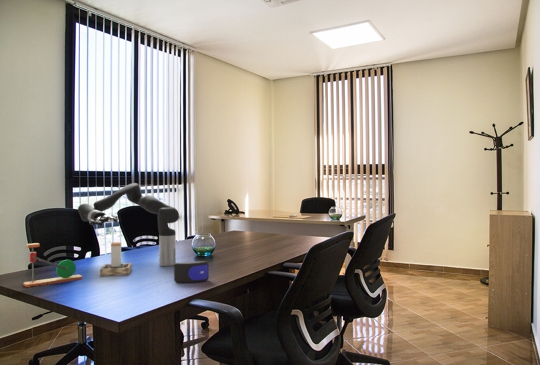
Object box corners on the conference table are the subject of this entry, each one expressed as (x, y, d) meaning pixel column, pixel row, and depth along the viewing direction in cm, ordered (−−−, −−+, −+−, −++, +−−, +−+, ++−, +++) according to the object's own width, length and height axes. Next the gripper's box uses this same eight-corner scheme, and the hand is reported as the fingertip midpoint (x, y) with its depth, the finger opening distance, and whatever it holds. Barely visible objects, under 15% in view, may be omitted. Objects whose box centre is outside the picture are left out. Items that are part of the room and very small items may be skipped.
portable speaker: (174, 284, 189) (174, 264, 189) (174, 282, 194) (174, 262, 194) (209, 282, 193) (209, 262, 193) (208, 280, 197) (208, 260, 198)
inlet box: (131, 269, 224) (131, 262, 224) (128, 274, 210) (128, 267, 210) (104, 270, 220) (104, 263, 220) (100, 276, 207) (99, 268, 207)
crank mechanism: (26, 288, 184) (26, 245, 184) (22, 285, 189) (22, 244, 189) (83, 279, 201) (83, 240, 201) (78, 276, 206) (78, 239, 206)
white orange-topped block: (121, 270, 218) (121, 242, 218) (120, 271, 214) (120, 243, 214) (112, 270, 217) (112, 242, 217) (111, 272, 213) (111, 243, 213)
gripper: (83, 213, 228) (95, 218, 217) (108, 208, 238) (121, 213, 227) (84, 226, 229) (96, 231, 218) (109, 221, 239) (122, 226, 228)
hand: (109, 222), depth 223 cm, fingers open, 8 cm apart
